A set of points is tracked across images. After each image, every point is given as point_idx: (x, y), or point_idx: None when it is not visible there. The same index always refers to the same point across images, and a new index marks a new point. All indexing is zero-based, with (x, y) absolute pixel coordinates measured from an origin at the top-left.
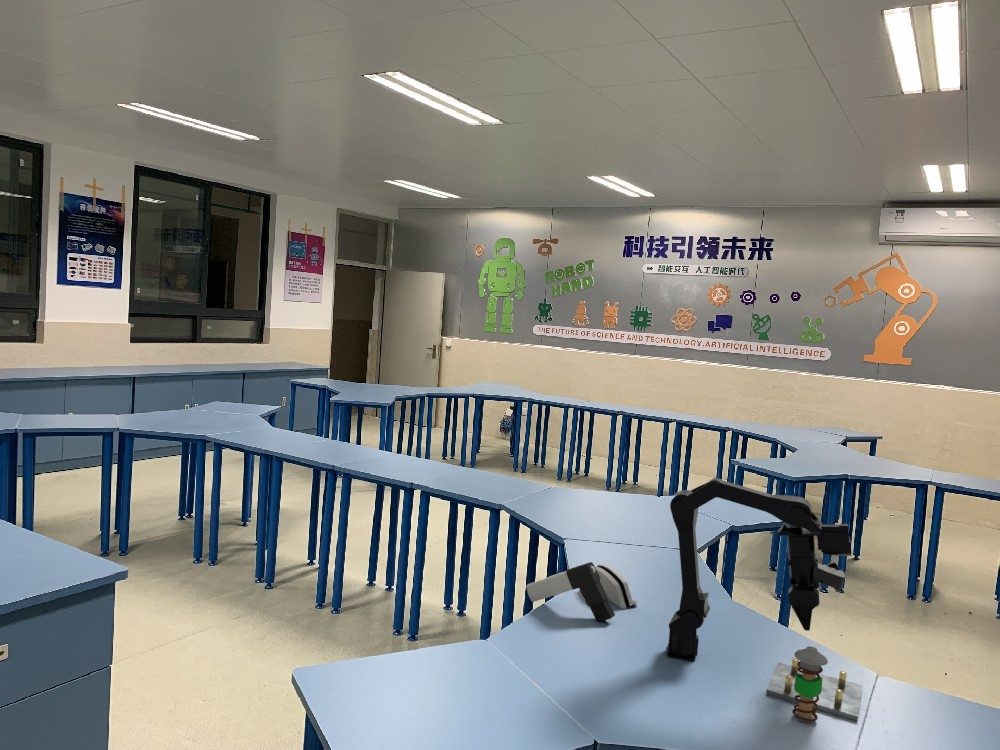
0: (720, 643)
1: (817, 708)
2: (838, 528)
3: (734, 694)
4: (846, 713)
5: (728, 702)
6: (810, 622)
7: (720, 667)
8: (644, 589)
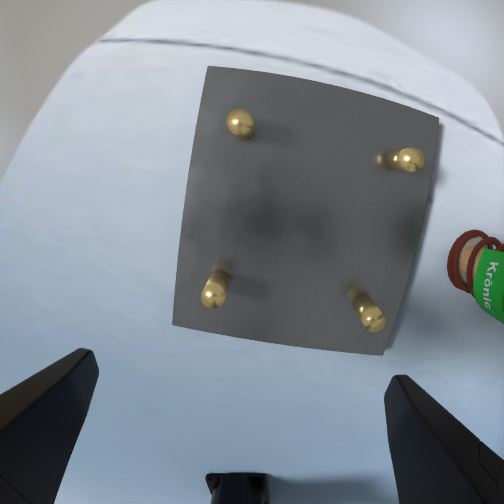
0: (126, 429)
1: (497, 239)
2: None
3: None
4: (435, 146)
5: None
6: (450, 413)
7: (265, 438)
8: None
